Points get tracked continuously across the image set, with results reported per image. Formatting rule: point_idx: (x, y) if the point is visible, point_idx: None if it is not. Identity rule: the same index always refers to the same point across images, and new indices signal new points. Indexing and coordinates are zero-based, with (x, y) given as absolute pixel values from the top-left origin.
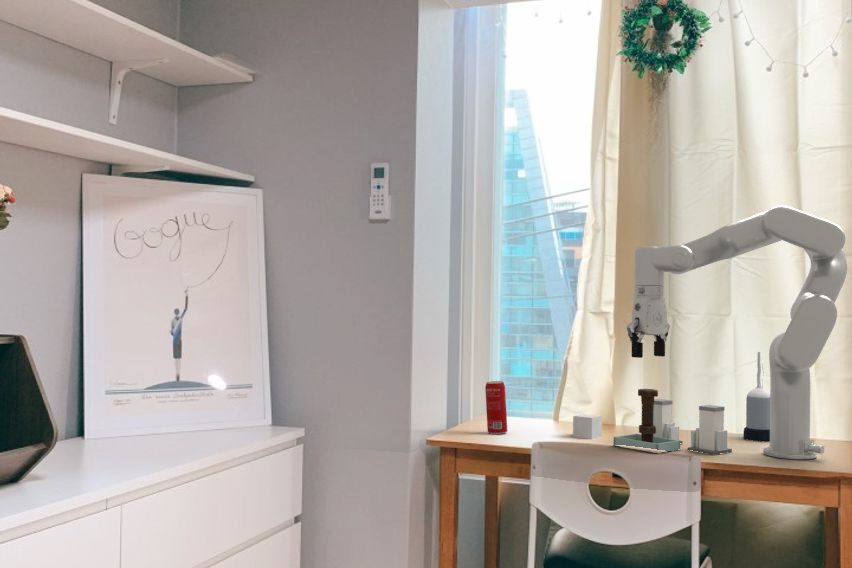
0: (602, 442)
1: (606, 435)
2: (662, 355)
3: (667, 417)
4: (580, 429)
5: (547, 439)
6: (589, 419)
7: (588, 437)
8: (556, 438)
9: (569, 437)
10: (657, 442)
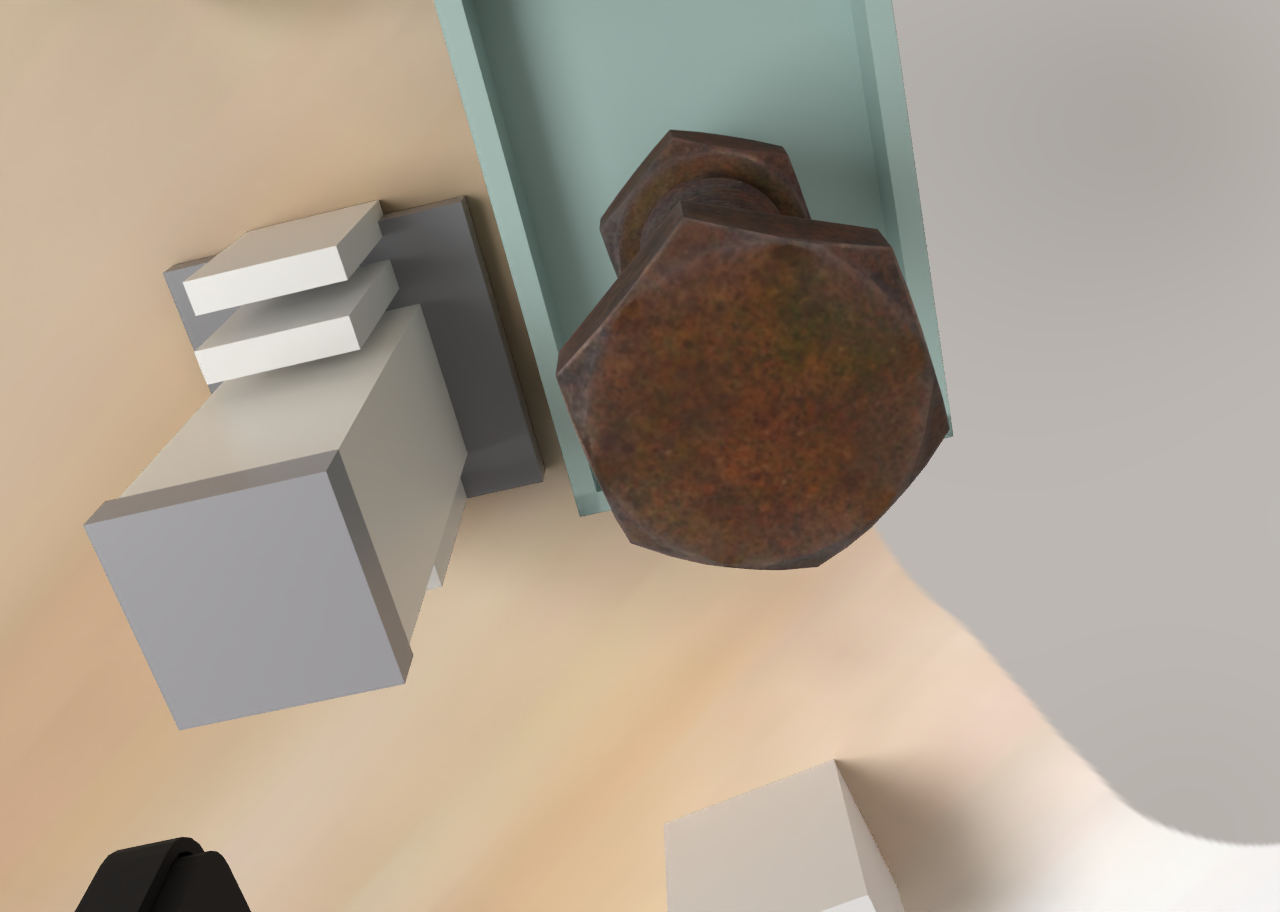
0: (872, 596)
1: (586, 851)
2: (215, 869)
3: (261, 414)
4: (886, 890)
5: (1197, 849)
6: (873, 901)
7: (847, 788)
8: (1093, 862)
9: (957, 867)
10: (533, 238)
